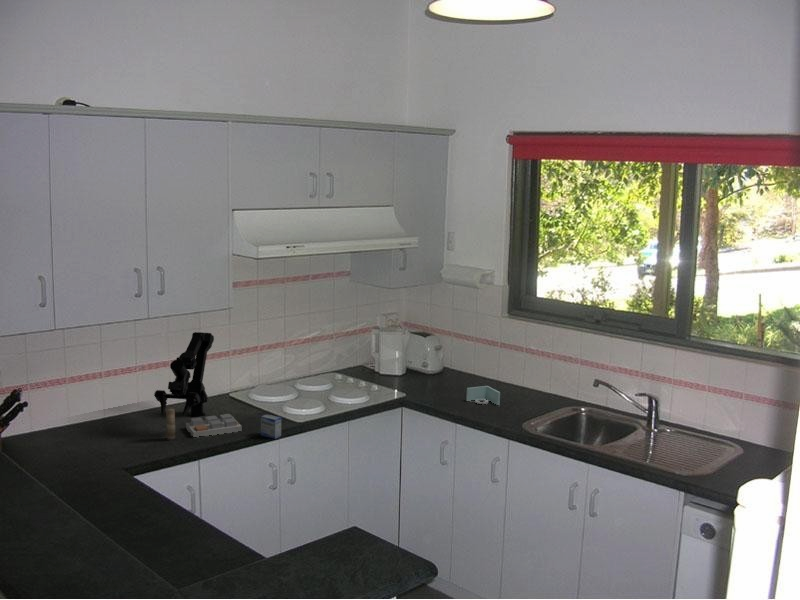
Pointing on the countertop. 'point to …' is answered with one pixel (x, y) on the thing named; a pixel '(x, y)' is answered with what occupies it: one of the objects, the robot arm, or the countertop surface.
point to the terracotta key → (200, 428)
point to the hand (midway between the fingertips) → (172, 414)
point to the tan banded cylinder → (170, 424)
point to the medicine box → (270, 426)
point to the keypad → (214, 425)
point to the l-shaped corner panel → (483, 395)
